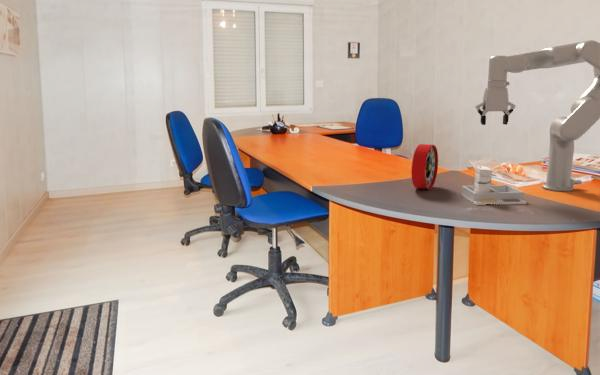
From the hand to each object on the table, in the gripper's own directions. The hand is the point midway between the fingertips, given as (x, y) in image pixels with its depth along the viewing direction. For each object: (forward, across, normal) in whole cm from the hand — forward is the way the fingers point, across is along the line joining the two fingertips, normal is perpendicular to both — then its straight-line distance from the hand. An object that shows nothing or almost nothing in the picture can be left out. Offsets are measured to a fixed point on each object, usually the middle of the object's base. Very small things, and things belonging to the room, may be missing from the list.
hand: (494, 124), depth 219 cm
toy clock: (+28, +30, 0) cm, 41 cm away
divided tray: (+28, +8, +22) cm, 37 cm away
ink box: (+28, +12, +21) cm, 37 cm away
